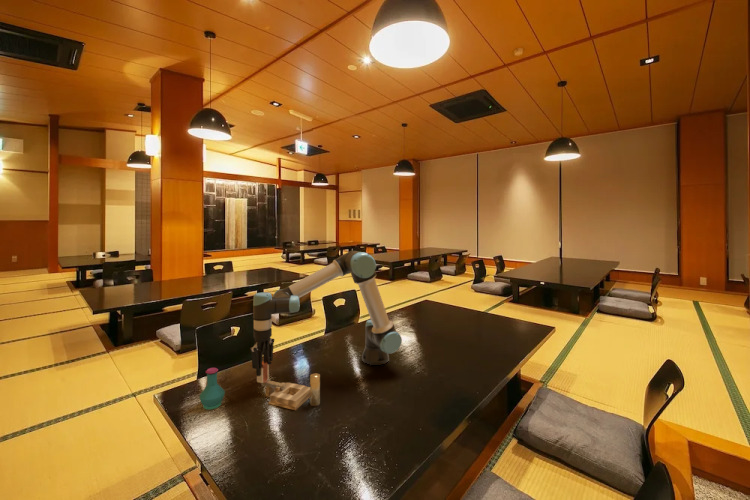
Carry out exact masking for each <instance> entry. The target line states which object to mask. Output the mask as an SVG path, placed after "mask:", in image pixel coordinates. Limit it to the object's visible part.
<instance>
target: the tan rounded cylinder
mask: <svg viewBox="0 0 750 500" xmlns="http://www.w3.org/2000/svg"><path fill="white" fill-rule="evenodd" d="M309 379H310V381H309V385H310V386H309V387H310V398H309V404H310V406H312V407H317V406H319V405H320V404H321V374H320V373H316V372H315V373H311V374H310V377H309Z"/></svg>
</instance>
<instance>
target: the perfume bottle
mask: <svg viewBox="0 0 750 500" xmlns="http://www.w3.org/2000/svg"><path fill="white" fill-rule="evenodd" d="M218 371H219V369H218V368H217V367H210V368H207V370H205V374H206V376H207V377H206V379H207V380H206V381H207V382H206V384H207V385H206V386H205V388H204V389H203V390H202V391H201V392H200V395H199V400H200V402H201V405H202V407H203V409H204V410H215V409H217V408H219V407H220V406H221V405H222V402H223V400H224V397H225V395H226V394H225V393H226V391H225V389H224V388H222V387H221V386H220V384H219V383H218Z"/></svg>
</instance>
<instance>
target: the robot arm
mask: <svg viewBox="0 0 750 500" xmlns="http://www.w3.org/2000/svg"><path fill="white" fill-rule="evenodd" d="M376 269H377V263H376V260H375V259H374V257H373V256H372V255H370V254H369V253H367V252H363V251H357V250H350V251H348V252H346V253H344V254H342V255H340V256H338V257H337V258H335V259H333V260H332V262H331V263H330V264H328V265H326V266H324V267H322V268H321V269H319V270H317V271H315V272H313V273H311V274H310V275H307V276H306V277H304V278H301V279H299V280H298V281H296V282H294V283H292V284H291V285H288V286H287V287H285V288H283V289H278V290H276V291H275V292H274V293H273V296H272V293H270V292H267V291H266V292H257V293H255V294H254V295H253V300H252V301H253V303H252V306H253V307H252V308H253V310H252V311H253V312H252V314H253V317H252V318H253V330H252V331H253V339H254V345H253V346H250V348H249V350H250V353H251V355H250V356H251V364H252V365H251V366H252V369H253V370H256V371H255V373H256V374H255V375H256V382H257V383H260V384H261V383H263V368H262V362H263V361H264V362H267V380H270V365H271V364H272V361H273V359H274V343H275V338H271V337H272V335H273V334H272V330H273V329H272V327H273V322H272V315H279V314H280V315H281V314H292V313H298V312H299V311H300V298H302V297H304V296H305V295H307V294H309V293H311V292H312V291H314V290H317V289H318V288H320V287H323V286H324V285H325V284H327V283H329V282H331V281H333V280H334V279H337V278H338V277H345V276H347V275H351V277H352V280H353V282H354V284H356V285H358V288H359V291H360V293H361V297H362V299H363V301H364V305H365V307H366V310H367V313H368V315H369V316H368V317H370V319H368V320H366V322H365V325H364V326H365V332H364V334H365V336H364V337H365V343H364V344H365V346H364V350H363V352H362V356H361V362H362V361H363V362H365V363H367V364H370V365H369V366H371V365H380V364H384V363H386V362H388V361H389V362H390V355H389V354H394V353H395V352H397V351H398V350H399V349H400V347H401V345H402V336H401V334H400V333H399V332H398V331H397V329H396V327H395V325H394V324H395V323H394V322H393V321H392V320H390V319H389V316H388V314H387V310H386V307H385V305H384V302H383V298H382V296H381V293H380V290H379V287H378V285H377V282H376V277H377V272H376ZM363 362H362V363H363ZM389 362H388V363H389ZM365 363H364V364H365ZM367 364H366V365H367Z"/></svg>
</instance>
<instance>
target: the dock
mask: <svg viewBox="0 0 750 500" xmlns="http://www.w3.org/2000/svg"><path fill="white" fill-rule="evenodd" d="M282 383H283V384H286V388H284V389H283V390H280V387H275V388H271V387H266V386H265V396H266V397H268V398H269V401H268V404H269V405H273V406H277V407H280V408H284V409H287V410H288V409H289V410H292V411H297V410H298V409H299V408H300V407H302V405H303V404H305V402H307V401H308V400H310V386H306V385H303V384H298V383H292V382H282Z"/></svg>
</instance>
